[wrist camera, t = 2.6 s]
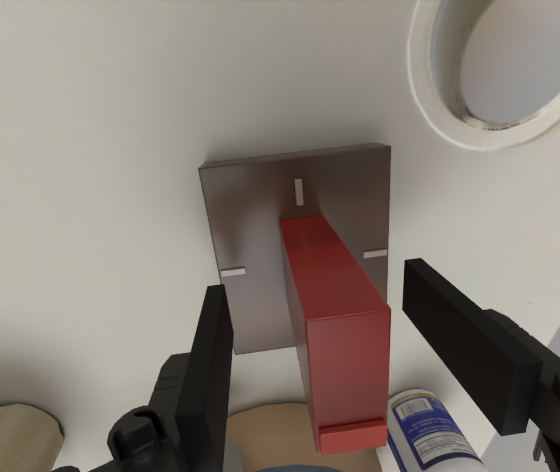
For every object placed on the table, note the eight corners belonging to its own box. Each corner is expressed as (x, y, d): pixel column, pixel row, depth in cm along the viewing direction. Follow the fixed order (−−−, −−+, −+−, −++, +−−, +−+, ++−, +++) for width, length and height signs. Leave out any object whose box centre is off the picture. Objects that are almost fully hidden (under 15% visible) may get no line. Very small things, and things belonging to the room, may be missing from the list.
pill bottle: (421, 437, 28) (495, 574, 19) (368, 428, 27) (421, 569, 18) (451, 392, 26) (544, 521, 18) (395, 381, 25) (467, 513, 17)
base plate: (203, 162, 18) (197, 168, 16) (377, 142, 18) (392, 145, 16) (236, 335, 22) (234, 357, 20) (375, 315, 22) (387, 335, 20)
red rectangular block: (278, 220, 17) (306, 326, 8) (323, 214, 17) (396, 313, 9) (287, 305, 19) (317, 461, 10) (328, 300, 19) (390, 449, 11)
